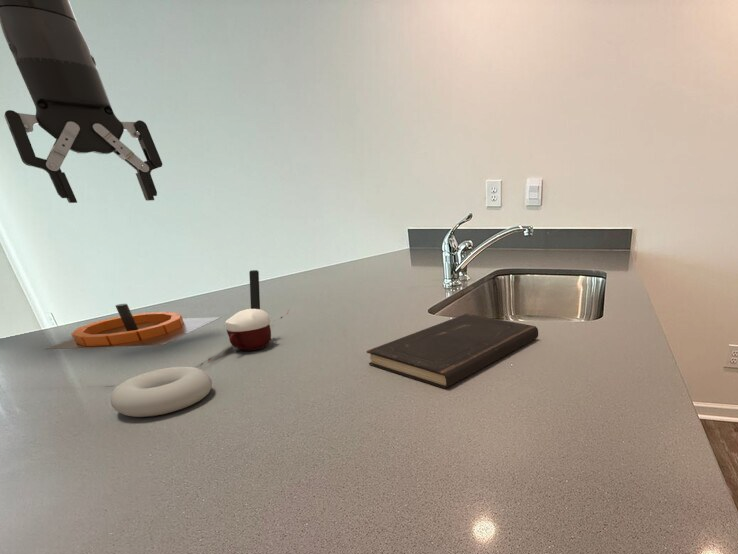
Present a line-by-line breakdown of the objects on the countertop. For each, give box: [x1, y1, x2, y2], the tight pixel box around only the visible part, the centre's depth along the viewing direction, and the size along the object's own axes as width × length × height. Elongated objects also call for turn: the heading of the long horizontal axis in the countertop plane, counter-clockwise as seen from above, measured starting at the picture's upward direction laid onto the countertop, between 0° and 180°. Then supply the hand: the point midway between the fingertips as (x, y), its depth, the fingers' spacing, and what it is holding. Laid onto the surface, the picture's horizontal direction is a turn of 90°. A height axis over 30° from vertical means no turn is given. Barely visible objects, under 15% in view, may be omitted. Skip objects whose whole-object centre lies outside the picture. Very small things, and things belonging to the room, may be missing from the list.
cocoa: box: [224, 269, 272, 352], centre depth 67 cm, size 10×6×12 cm, turn 153°
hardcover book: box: [366, 313, 539, 389], centre depth 65 cm, size 16×23×2 cm
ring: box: [70, 311, 184, 346], centre depth 74 cm, size 15×15×2 cm
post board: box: [45, 303, 222, 350], centre depth 73 cm, size 19×16×6 cm
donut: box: [110, 366, 213, 418], centre depth 51 cm, size 10×4×10 cm
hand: (113, 201), depth 59 cm, fingers open, 8 cm apart
